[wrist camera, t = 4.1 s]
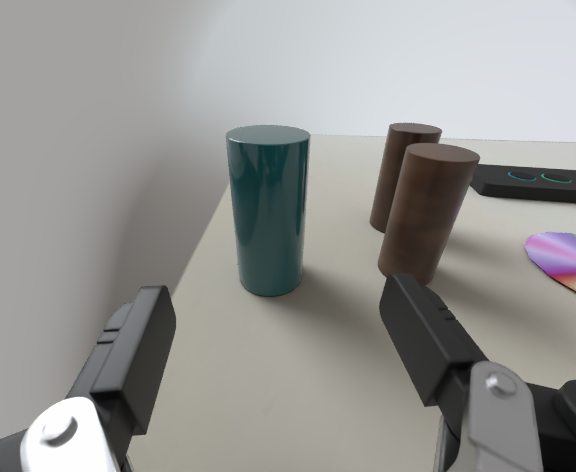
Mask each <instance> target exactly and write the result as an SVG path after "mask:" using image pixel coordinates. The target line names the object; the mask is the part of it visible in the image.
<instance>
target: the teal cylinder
mask: <svg viewBox="0 0 576 472" xmlns="http://www.w3.org/2000/svg"><path fill="white" fill-rule="evenodd" d="M310 139H311V135H310V134H309V133H308V132H307V131H305V130H302V129H298V128H294V127H288V126H277V125H276V126H275V125H256V126H246V127H240V128H236V129H233V130H231V131H229V132H227V133H226V145H227V155H228V165H229V176H230V186H231V197H232V207H233V218H234V228H235V238H236V249H237V259H238V270H239V279H240V282H241V284H242V285H243V286H244V287H245V289H247V290H248V291H250V292H252V293H254V294H257V295H261V296H279V295H283V294H286V293H288V292H290V291H292V290H293V289H294V288H296V287H297V286H298V284H299V283H300V281H301V278H302V265H303V249H304V233H305V217H306V202H307V186H308V170H309V154H310Z"/></svg>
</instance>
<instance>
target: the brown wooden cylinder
mask: <svg viewBox="0 0 576 472" xmlns="http://www.w3.org/2000/svg"><path fill="white" fill-rule="evenodd" d="M479 160H480V156H479V155H478V154H477V153H475V152H473V151H471V150H468V149H465V148H461V147H457V146H452V145H446V144H437V143H416V144H411V145H409V146H407V148H406V151H405V155H404V159H403V163H402V167H401V171H400V175H399V179H398V183H397V187H396V191H395V195H394V199H393V203H392V207H391V211H390V215H389V219H388V224H387V228H386V232H385V236H384V240H383V244H382V248H381V252H380V256H379V260H378V267H379V269H380V271H381V272H382V273H383V274H384V275H385V276H386V277H388V275H389V274H402V273H410V274H412V275H413V276H414V277H415V279H416V280H417V281H418V283H419V284H420V285H421V286H423V285H426V284H428V283H429V282H430V281H431V280H432V278H433V275H434V273H435V270H436V268H437V265H438V263H439V260H440V258H441V255H442V253H443V250H444V248H445V245H446V243H447V240H448V238H449V235H450V233H451V230H452V228H453V225H454V222H455V220H456V217H457V215H458V212H459V210H460V207H461V205H462V202H463V200H464V197H465V195H466V192H467V190H468V187H469V185H470V182H471V180H472V177H473V175H474V172H475V170H476V167H477V165H478V162H479Z"/></svg>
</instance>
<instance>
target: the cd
mask: <svg viewBox="0 0 576 472" xmlns="http://www.w3.org/2000/svg"><path fill="white" fill-rule="evenodd" d="M525 247H526V250H527V252H528V255H529V257H530V259H531V260H532V261H534V262H535V263H536V264H537V265H538V266H539V267H540V268H541V269H542V270H544V271H545V272H546V273H547V274H548V275H549V276H551V277H552V278H554V279H556V280H557V281H559V282H561V283H563V284H564V285H566V286H568V287H569V288H571V289H573V290H574V291H576V234H572V233H554V232H546V233H541V234H537V235H532V236H531V237H530V238H529V239H528V241H527V242H526V243H525Z"/></svg>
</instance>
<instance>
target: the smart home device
mask: <svg viewBox="0 0 576 472" xmlns="http://www.w3.org/2000/svg"><path fill="white" fill-rule="evenodd" d="M470 186H471V187H472V188H473V189H474V190H475V191H476V192H477V193H479V194H480V195H483V196H490V197H502V198H516V199H529V200H542V201H556V202H569V203H576V170H564V169H548V168H532V167H516V166H501V165H485V164H478V165H477V167H476V170H475V172H474V175H473V177H472V180H471V182H470Z"/></svg>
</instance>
